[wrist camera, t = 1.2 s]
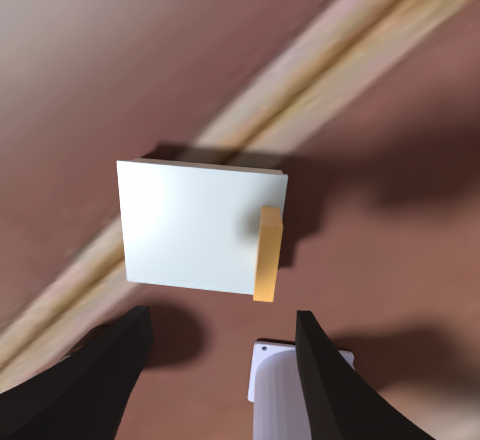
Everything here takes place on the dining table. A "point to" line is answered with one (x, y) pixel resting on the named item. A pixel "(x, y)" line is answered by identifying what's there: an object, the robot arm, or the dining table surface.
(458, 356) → the dining table surface
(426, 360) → the dining table surface
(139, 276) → the lid
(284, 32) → the dining table surface
